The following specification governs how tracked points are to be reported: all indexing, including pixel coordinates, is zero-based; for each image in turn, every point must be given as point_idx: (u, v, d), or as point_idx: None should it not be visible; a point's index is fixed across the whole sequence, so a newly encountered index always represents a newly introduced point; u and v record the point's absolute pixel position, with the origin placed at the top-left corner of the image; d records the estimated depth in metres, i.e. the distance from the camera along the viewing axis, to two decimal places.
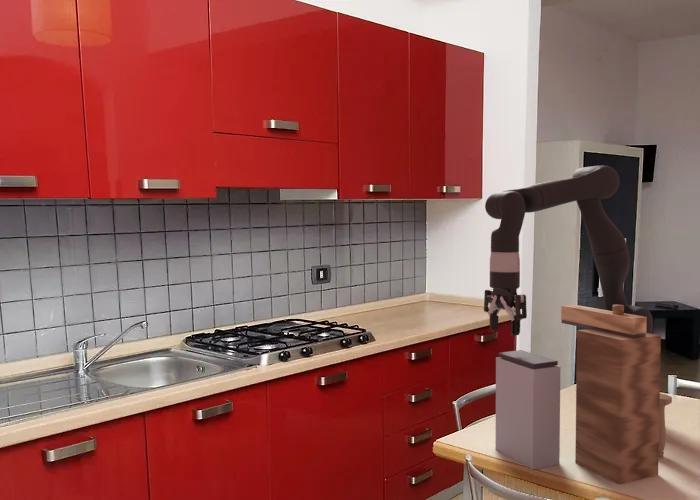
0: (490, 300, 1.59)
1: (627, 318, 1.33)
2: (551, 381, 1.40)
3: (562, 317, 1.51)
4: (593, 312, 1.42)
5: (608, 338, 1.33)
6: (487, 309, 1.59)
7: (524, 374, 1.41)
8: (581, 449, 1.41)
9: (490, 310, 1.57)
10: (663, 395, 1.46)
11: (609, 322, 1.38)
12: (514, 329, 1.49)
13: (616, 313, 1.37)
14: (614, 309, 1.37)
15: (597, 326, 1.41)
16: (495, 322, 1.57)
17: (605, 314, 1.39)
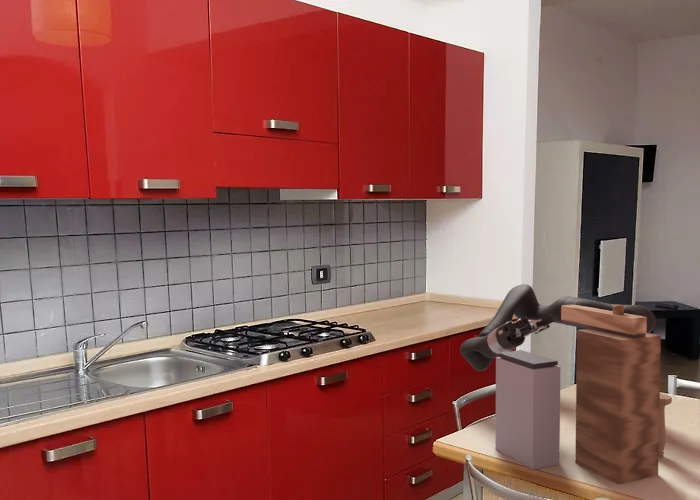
0: None
1: (627, 318, 1.33)
2: (551, 381, 1.40)
3: (562, 317, 1.51)
4: (593, 312, 1.42)
5: (608, 338, 1.33)
6: None
7: (524, 374, 1.41)
8: (581, 449, 1.41)
9: None
10: (663, 395, 1.46)
11: (609, 322, 1.38)
12: None
13: (616, 313, 1.37)
14: (614, 309, 1.37)
15: (597, 326, 1.41)
16: None
17: (605, 314, 1.39)
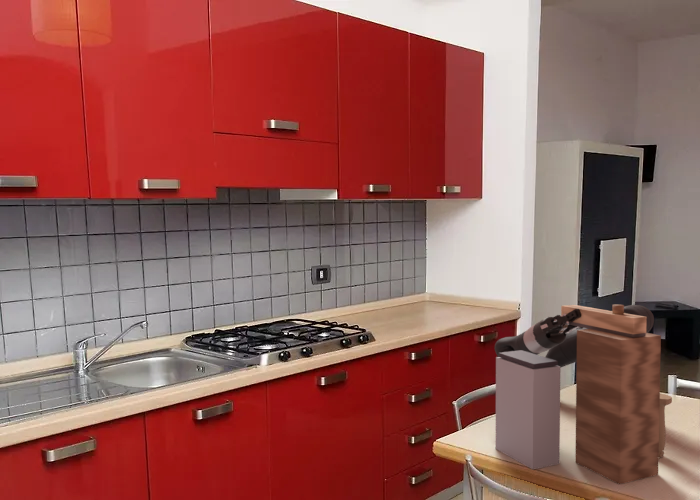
0: None
1: (627, 318, 1.33)
2: (551, 381, 1.40)
3: None
4: (593, 312, 1.42)
5: (608, 338, 1.33)
6: None
7: (524, 374, 1.41)
8: (581, 449, 1.41)
9: None
10: (663, 395, 1.46)
11: (609, 322, 1.38)
12: None
13: (616, 313, 1.37)
14: (614, 309, 1.37)
15: (597, 326, 1.41)
16: None
17: (605, 314, 1.39)
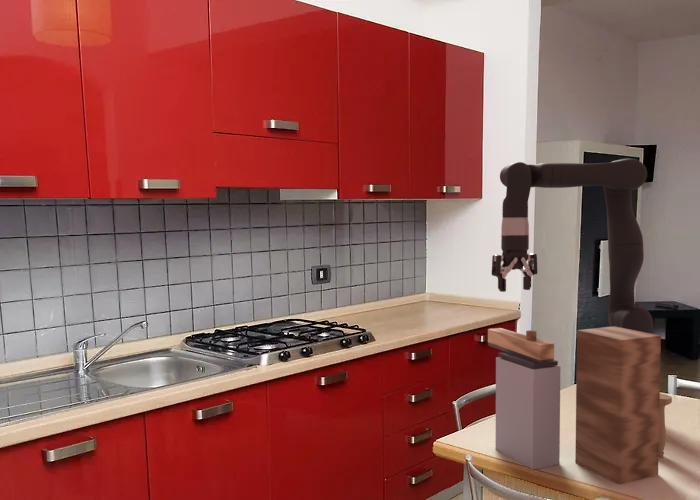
0: None
1: (535, 344, 1.40)
2: (551, 381, 1.40)
3: (488, 340, 1.59)
4: (511, 337, 1.50)
5: (608, 338, 1.33)
6: None
7: (524, 374, 1.41)
8: (581, 449, 1.41)
9: (505, 273, 1.67)
10: (663, 395, 1.46)
11: (522, 347, 1.45)
12: (530, 284, 1.71)
13: (528, 339, 1.44)
14: (527, 335, 1.45)
15: (514, 350, 1.48)
16: None
17: (519, 339, 1.46)
